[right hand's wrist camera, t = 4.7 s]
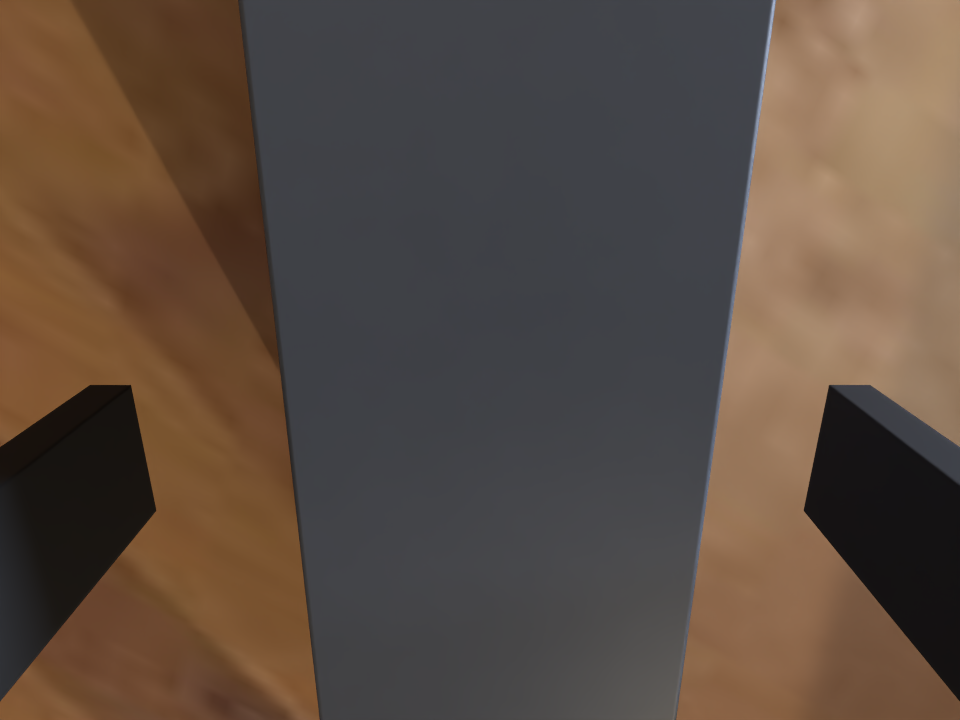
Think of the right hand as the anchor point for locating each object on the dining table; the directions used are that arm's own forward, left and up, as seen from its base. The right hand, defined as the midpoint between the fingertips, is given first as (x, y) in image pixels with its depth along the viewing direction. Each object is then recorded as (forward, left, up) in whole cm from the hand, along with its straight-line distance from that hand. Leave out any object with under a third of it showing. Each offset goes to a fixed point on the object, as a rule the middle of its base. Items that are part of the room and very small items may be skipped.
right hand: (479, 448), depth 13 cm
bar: (-8, -25, -3) cm, 26 cm away
